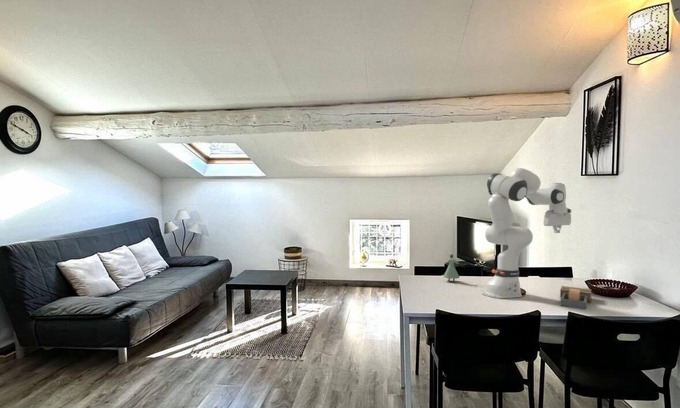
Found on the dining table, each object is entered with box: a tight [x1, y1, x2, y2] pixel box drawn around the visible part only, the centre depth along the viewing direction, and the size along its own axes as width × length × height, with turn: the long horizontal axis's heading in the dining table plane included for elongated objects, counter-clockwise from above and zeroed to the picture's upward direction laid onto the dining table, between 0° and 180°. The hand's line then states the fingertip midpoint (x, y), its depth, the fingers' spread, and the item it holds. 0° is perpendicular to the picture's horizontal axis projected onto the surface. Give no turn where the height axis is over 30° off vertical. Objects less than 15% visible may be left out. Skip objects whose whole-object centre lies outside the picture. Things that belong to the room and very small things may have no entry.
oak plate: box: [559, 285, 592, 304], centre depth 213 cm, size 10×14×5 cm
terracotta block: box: [569, 289, 580, 301], centre depth 203 cm, size 6×4×10 cm
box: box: [560, 293, 588, 310], centre depth 202 cm, size 15×11×4 cm
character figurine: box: [441, 254, 464, 282], centre depth 254 cm, size 16×8×18 cm, turn 80°
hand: (557, 233), depth 232 cm, fingers closed
